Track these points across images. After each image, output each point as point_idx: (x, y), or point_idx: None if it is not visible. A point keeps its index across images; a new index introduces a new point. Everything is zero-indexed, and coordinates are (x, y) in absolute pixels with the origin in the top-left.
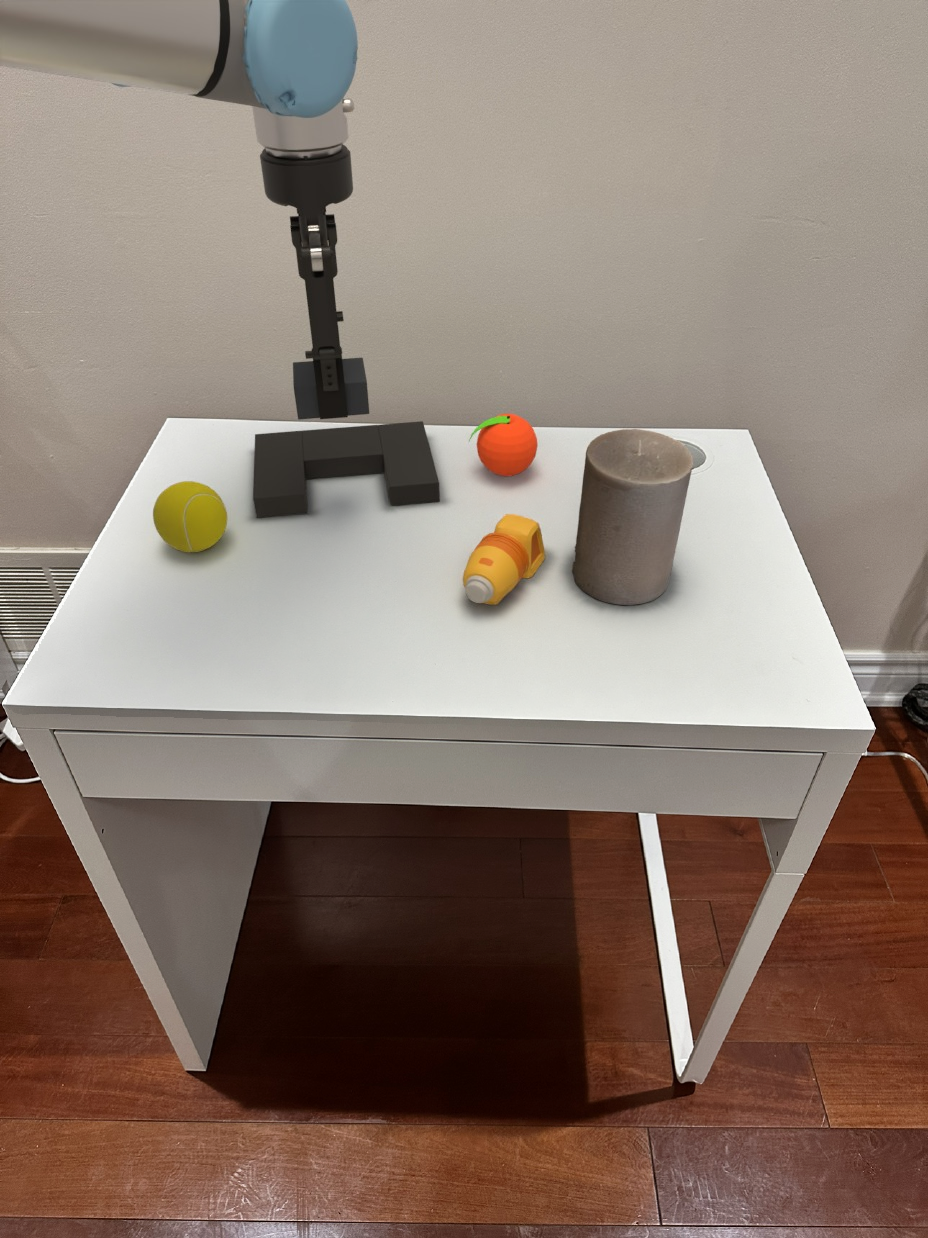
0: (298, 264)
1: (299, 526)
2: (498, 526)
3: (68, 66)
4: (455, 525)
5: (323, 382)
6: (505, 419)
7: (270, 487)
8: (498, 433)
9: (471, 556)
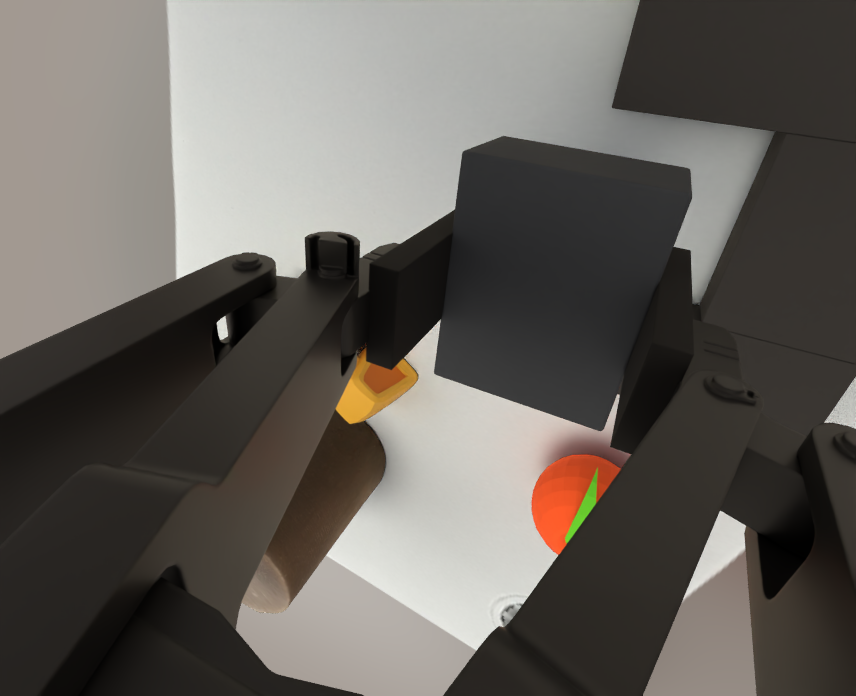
0: (7, 538)
1: (576, 76)
2: (353, 380)
3: None
4: None
5: (371, 253)
6: None
7: (686, 13)
8: (555, 511)
9: None
